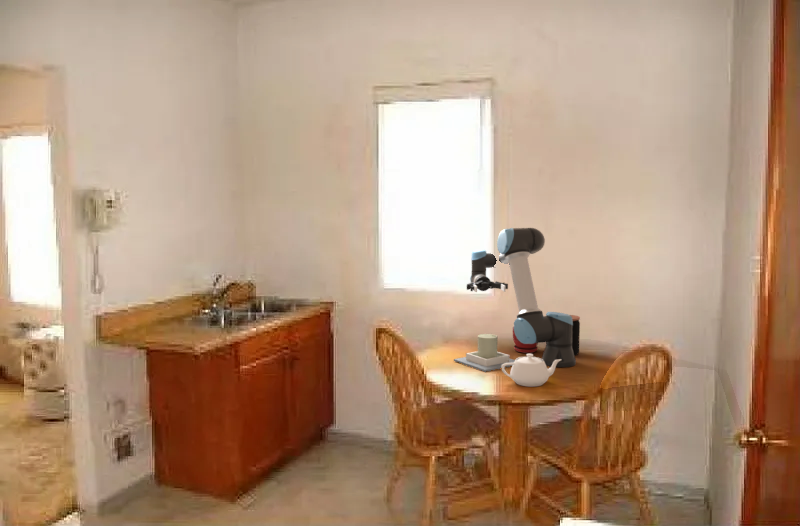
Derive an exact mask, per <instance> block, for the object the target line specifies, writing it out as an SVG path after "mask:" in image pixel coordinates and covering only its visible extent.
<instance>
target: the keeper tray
mask: <svg viewBox="0 0 800 526" xmlns="http://www.w3.org/2000/svg"><path fill="white" fill-rule="evenodd" d="M515 360H516V359H513V358H511V355H510V354H507V353H503V352H501V351H497V357H494V358H489V359H485V358H482V357H479V356H478V350H477V351H472V352H466V353H465V356H463V357H459V358H454V359H453V362H454V361H455V363H457V362H459V363H458V364H460V363H462V364H461V365H463V364H464V366H466V365H467V367H469V366H470V367H469V368H472V367H473V368H472V369H475V368H476V369H475V370H478V369H479V370H478V371H481V370H482V371H481V372H483V371H484V373H487V372H486V371H488V372H491V370H493V371H496V370H495V369H498V370H501V369H500V368H501V366H502V364H504V363H513V362H514V361H515ZM510 366H512V365H506V366H505V367H507V368H511V367H510ZM505 367H504V369H506V368H505Z"/></svg>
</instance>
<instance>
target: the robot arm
mask: <svg viewBox="0 0 800 526" xmlns="http://www.w3.org/2000/svg"><path fill="white" fill-rule="evenodd" d="M496 242H497V243H496V244H497V245H496V246H497V251H498V253H500V255H499V261H500V262H501V263H504V264H508V263H509V265H510V266H509V268H510V273H511V279H512V283H513V288H514V293H515V298H516V303H517V308H518V312H517V314H516V319H515V320H514V322H513V327H514V332H515V335H516V337H517V339H518V340H519V341H520V342H521V343H524V344H534V343H538V344H540V343H545V347H544V350H543V354H542V356H541V359H543V360H544V362H545V364H546V366H548V367H551V366H552V364H553V362H554V361H555V360H557V359H562V360H561V361H559V362H558V363H557V365H556V367H555V368H569V367H571V368H572V367H574V366H576V364H577V363H576V362H577V361H576V357H575V355H574V353H573V349H572V328H573V320H572V317H571V316H570V315H571V314H568V313H564V312H557V311H547V312H546V313H545V315H544V313H543V310H541V309H540V308H539V307H538V301H537V298H536V292H535V287H534V283H533V277H532V274H531V269H530V264H529V259H528V258H529V257H530V256H531V255H534V254H536V253H538V252H540V251H541V250H542V249H543V248H544V246H545V242H546V239H545V236H544V234H543V232H541V230H539V229H538V228H534V227H520V228H519V227H518V228H517V227H515V228H513V227H511V228H504V229H502V230H501V231H500V232H499V234H498V237H497V241H496ZM496 261H497V260H496V258H495V256H494V255H493V254H491V252H490V253H487V251H486V250H485V249H474V250H472V252H471V275H470V278H469V280H470V282H468V283H466V291H468V290H470V292H474V293H478V291H481V292H486V291H488V290H489V289H492V290H493V289H496V290H497V289H498V290H501V291H502V292H503V293H504V292H506V290H508V289H509V284H508V283H506V282H499V281H497V280H496V281H492V280H491V279H490V278H489V277H488V276H487V269H490V268H491V269H493V268H495V267H494V265H495V264H496ZM492 267H493V268H492Z"/></svg>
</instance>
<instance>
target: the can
mask: <svg viewBox="0 0 800 526" xmlns="http://www.w3.org/2000/svg"><path fill="white" fill-rule="evenodd" d="M477 351H478V356H479V357H482V358H485V359H489V358H494V357H497V352H498V335H497V334H492V333H480V334H478V335H477Z"/></svg>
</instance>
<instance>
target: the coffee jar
mask: <svg viewBox="0 0 800 526" xmlns="http://www.w3.org/2000/svg"><path fill="white" fill-rule="evenodd" d="M569 315H570V316H571V317H572V320H573V328H572V349H573V353H574V356H577V355H578V354H579V353H580V331H581V330H580V329H581V328H580V326H581V322H580V320H581V319H580V318H581V317H580V316H578V315H574V314H569Z"/></svg>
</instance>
